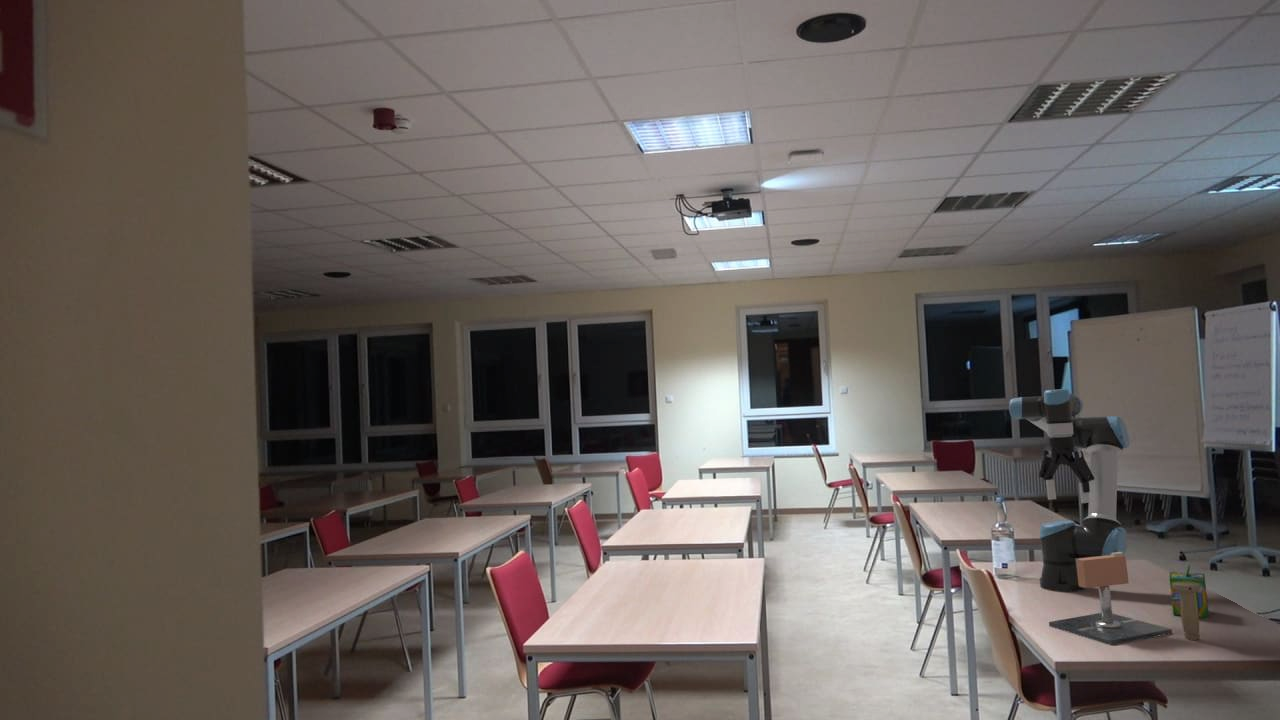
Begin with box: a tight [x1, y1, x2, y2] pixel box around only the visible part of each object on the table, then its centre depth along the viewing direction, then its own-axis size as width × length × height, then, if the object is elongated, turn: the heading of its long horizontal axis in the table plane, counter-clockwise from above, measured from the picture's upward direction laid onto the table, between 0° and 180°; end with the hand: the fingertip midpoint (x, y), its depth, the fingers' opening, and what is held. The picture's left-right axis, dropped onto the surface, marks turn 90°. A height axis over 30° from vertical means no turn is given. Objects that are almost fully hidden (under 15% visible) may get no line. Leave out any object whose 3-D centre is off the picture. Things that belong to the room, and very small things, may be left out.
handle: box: [1172, 582, 1200, 641], centre depth 215 cm, size 5×6×15 cm
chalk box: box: [1169, 563, 1210, 618], centre depth 238 cm, size 9×9×15 cm
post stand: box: [1048, 586, 1173, 646], centre depth 228 cm, size 22×22×13 cm
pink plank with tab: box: [1076, 552, 1130, 589], centre depth 229 cm, size 3×14×9 cm, turn 98°
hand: (1068, 501), depth 253 cm, fingers open, 13 cm apart
